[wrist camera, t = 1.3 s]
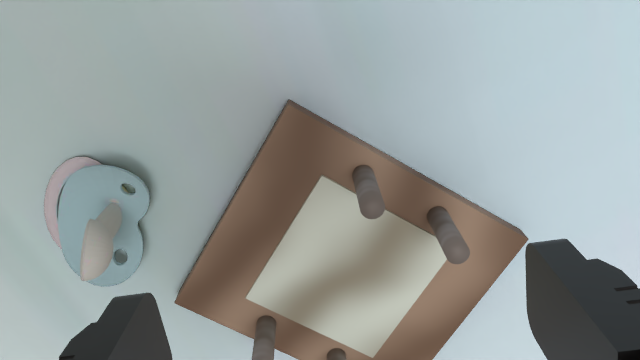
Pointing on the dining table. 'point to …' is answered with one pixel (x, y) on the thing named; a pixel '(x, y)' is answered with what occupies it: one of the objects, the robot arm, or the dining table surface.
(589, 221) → the dining table surface
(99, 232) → the pacifier
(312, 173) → the pin tray
